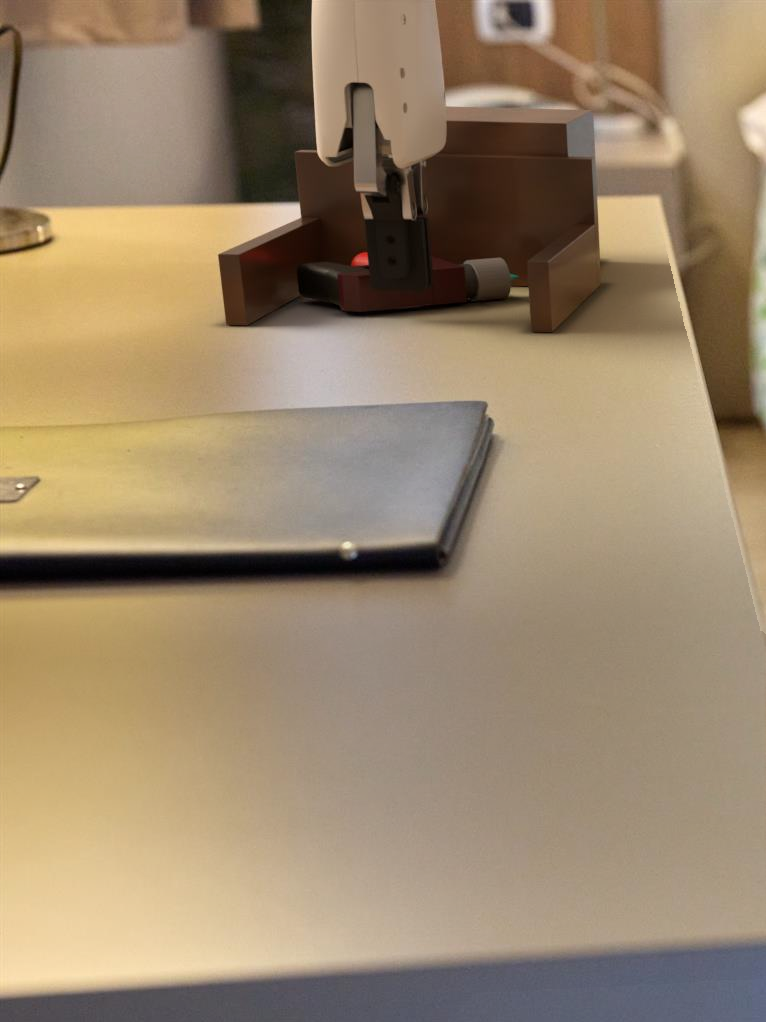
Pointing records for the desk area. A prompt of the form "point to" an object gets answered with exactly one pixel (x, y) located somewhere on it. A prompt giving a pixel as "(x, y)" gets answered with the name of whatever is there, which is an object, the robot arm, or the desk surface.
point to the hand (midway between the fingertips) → (402, 287)
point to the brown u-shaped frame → (453, 214)
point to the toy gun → (448, 287)
